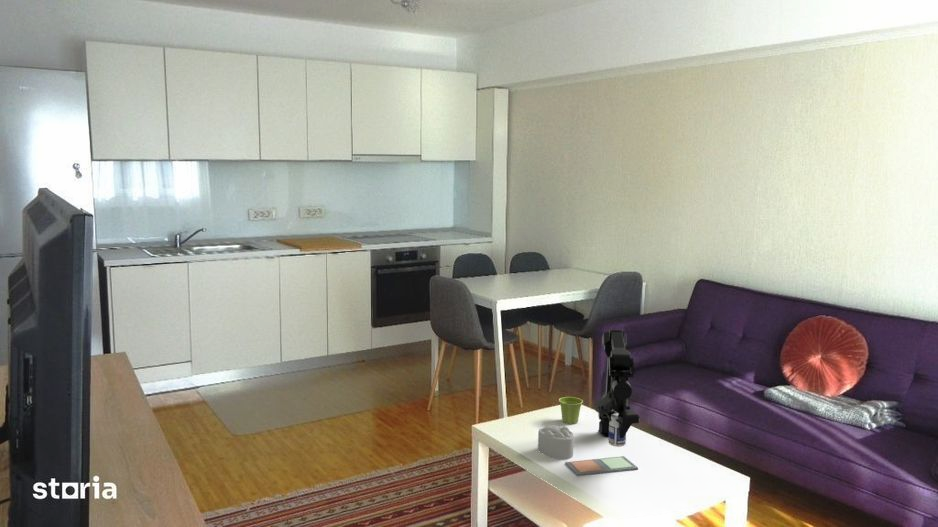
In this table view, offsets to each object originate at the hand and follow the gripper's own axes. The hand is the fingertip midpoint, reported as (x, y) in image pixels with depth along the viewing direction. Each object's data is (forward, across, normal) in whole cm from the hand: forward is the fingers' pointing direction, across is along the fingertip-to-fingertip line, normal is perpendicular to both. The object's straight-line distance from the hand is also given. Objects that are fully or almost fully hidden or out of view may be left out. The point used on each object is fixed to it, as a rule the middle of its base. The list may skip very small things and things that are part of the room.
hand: (617, 434), depth 240 cm
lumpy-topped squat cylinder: (+11, -15, -15) cm, 24 cm away
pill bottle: (+3, 0, 0) cm, 3 cm away
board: (+11, 0, -6) cm, 12 cm away
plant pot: (+11, -43, +2) cm, 44 cm away
